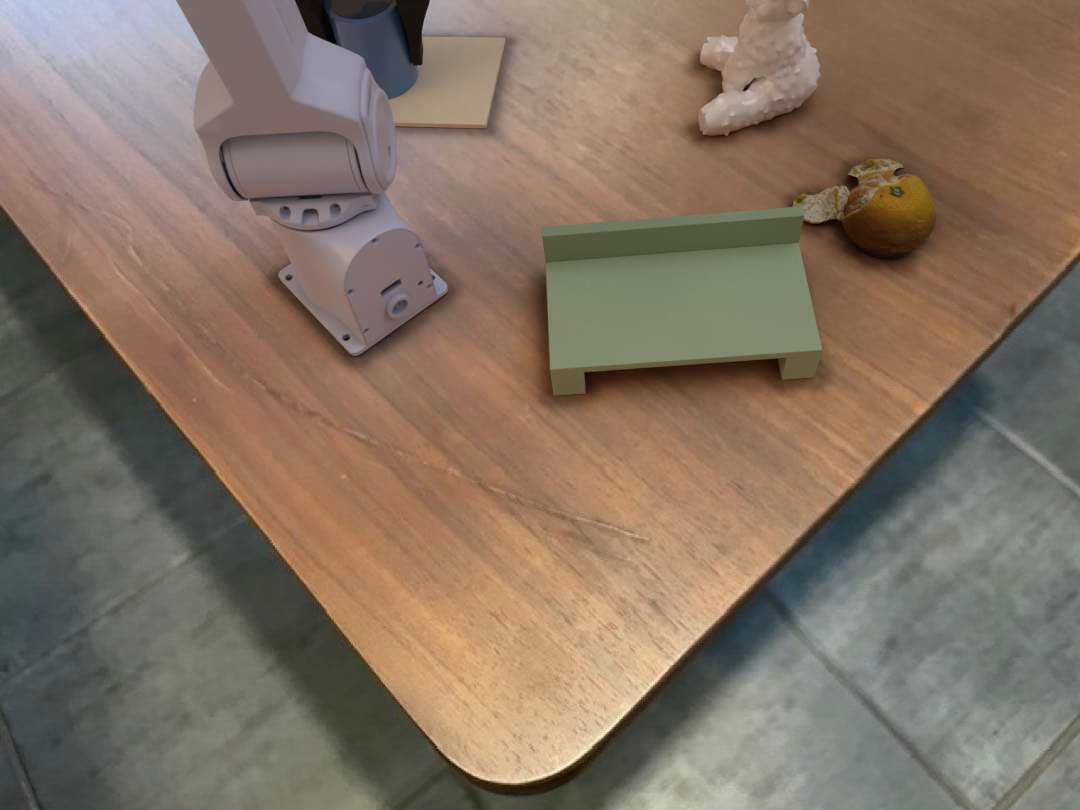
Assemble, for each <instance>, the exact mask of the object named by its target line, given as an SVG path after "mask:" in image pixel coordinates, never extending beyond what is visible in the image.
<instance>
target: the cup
mask: <svg viewBox="0 0 1080 810" xmlns="http://www.w3.org/2000/svg"><path fill="white" fill-rule="evenodd" d="M325 11H326V14H327V17H328V20H329V24H330V27H331V30H332V33H333V36H334V39H335V43H336V45H337V46H340V47H342V48H344V49H347V50H349V51H351V52H353V53H355V54H358V55H360V56H361V57H363V58H364V61H365V63H366V66H367V68H368V69H369V70H370V71H371V74H372V76H373V78H374V80H375V82H376V83H377V84H378V86H379V87H380V88H381V89H382V90H383V91H384V92H385V93H386V95H387V97H388V100H389V99H392V98H395V97H398V96H400V95H402V94H404V93H405V92H407V91H408V90H409V89H410V88H411V87H412V86H413V85H414V84H415V82H416V80H417V78H418V66H413V63H412V60H411V56H410V50H409V44H408V37H407V33H406V30H405V26H404V23H403V20H402V17H401V14H400V12H399V9H398V7H397V5H396V1H395V0H325Z"/></svg>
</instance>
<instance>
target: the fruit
mask: <svg viewBox="0 0 1080 810" xmlns="http://www.w3.org/2000/svg"><path fill="white" fill-rule="evenodd" d="M904 167H905V166H904V165H903V164H902V163H900V162H898V161H895V160H893V159H889V158H886V159H885V158H868V159H866V160H865V161H863V162H861V163H859V164H857V165H854V166H853V167H851V169H850V171H849V173H847V176H848V177H856V178H857V180H858V183H857V184H858V185H857V186H854V187H853V188H852V189H851V191H849V189H848V186H845V185H834V186H832V187H826V188H825V189H824V190H822V191H820V192H819V193H816V194H807V193H805V192H802V193H801V194H799V195H798V196H797V197H795V198H793V202H792V206H791V207H798V206H802V207H803V211H804V215H805V216H804V220H803V222H806V223H808V224H809V223H810V224H813V225H814V224H815V225H819V224H820V223H822V222H827V221H828V220H837V221H840V223H841V224H842V228H843V230H844V231H845V233H846V235H847V237H848V239H849V240H850V242H851V243H852V244H854V245H856V246H857V247H858V248H859V249H860V250H861V251H862V252H863V253H864V254H867V255H869V256H873V257H876V258H882V259H897V258H900V257H904V256H906V255H908V254H910V253H912V252H914V251H915V250H916V249H918V247H920V246H921V245H923V244H925V242H927V240H928V238H930V235H932V234H931V233H932V232H933V231H934V229H935V227H936V224H937V215H936V206H935V204H934V200H933V197H932V194H931V191H930V190H929V188H928V187H927V186H926V185H925V183H924V181H923V180H922V179H920V177H919V176H917V175H915V174H910V173H905V174H900V175H899V174H898V175H895V173H897V172H899V171H901V170H902V169H905V168H904Z"/></svg>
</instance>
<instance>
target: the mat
mask: <svg viewBox="0 0 1080 810" xmlns="http://www.w3.org/2000/svg"><path fill="white" fill-rule="evenodd" d="M506 42H507V41H506V37H504V36H503V37H501V36H500V37H497V36H496V37H490V36H422V43H423V64H422V65H418V78H417V80H416V82H415V84H414V85H413V86H412V87H411V88H410V89H409V90H408V91H407V92H405V93H404V94H402V95H400V96H398V97H395V98H392V99H389V102H390V106H391V109H392V114H393V119H394V125H395V127H407V128H408V127H409V128H447V129H449V128H452V129H487V128H488V123H489V118H490V114H491V110H492V106H493V100H494V96H495V92H496V87H497V83H498V78H499V75H500V68H501V63H502V61H503V60H502V59H503V55H504V50H505V46H506Z"/></svg>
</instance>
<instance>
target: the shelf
mask: <svg viewBox="0 0 1080 810" xmlns="http://www.w3.org/2000/svg"><path fill="white" fill-rule="evenodd" d="M804 216H805V215H804V211H803V207H802V206H798V207H792V206H788V207H787V206H786V207H775V208H762V209H761V208H760V209H749V210H748V209H747V210H737V211H725V212H724V211H723V212H712V213H711V212H710V213H699V214H687V215H675V216H663V217H650V218H638V219H637V218H636V219H627V220H624V219H623V220H613V221H611V220H610V221H601V222H600V221H599V222H589V223H588V222H587V223H575V224H564V225H563V224H562V225H550V226H542V227H541V235H542V236H541V237H542V246H543V252H544V253H543V254H544V261H545V279H546V280H545V281H546V282H545V283H546V285H545V286H546V302H547V303H546V306H547V307H546V309H547V331H548V352H549V354H548V355H549V357H548V358H549V371H550V373H549V374H550V378H551V379H550V381H551V386H552V394H553V397H557V396H569V395H584V394H586V393H587V389H586V373H591V372H605V371H606V372H607V371H620V370H634V369H646V368H647V369H648V368H663V367H672V366H673V367H676V366H691V365H702V364H703V365H705V364H717V363H719V364H720V363H731V362H747V361H760V360H774V359H777V362H778V368H779V373H780V377H781V380H782V381H783V380H784V381H785V380H797V379H799V380H800V379H812V378H813V379H814V378H815V377H816V374H817V370H818V367H819V364H820V360H821V356H822V353H823V345H822V341H821V337H820V333H819V327H818V324H817V319H816V314H815V310H814V305H813V301H812V297H811V291H810V288H809V283H808V278H807V274H806V269H805V265H804V260H803V257H802V256H803V255H802V251H801V247H800V238H801V234H802V229H803V224H804Z"/></svg>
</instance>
